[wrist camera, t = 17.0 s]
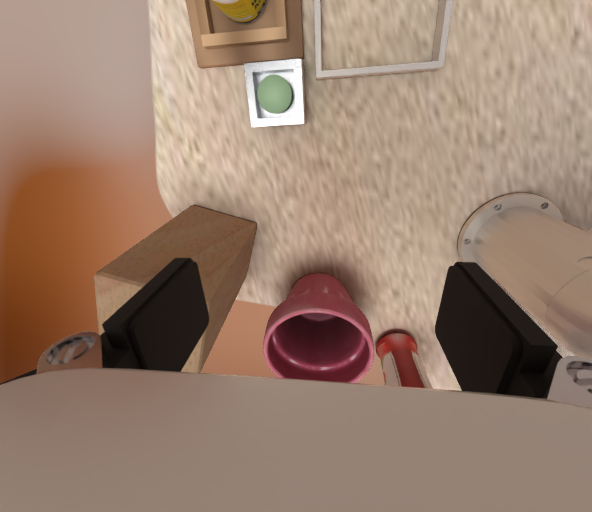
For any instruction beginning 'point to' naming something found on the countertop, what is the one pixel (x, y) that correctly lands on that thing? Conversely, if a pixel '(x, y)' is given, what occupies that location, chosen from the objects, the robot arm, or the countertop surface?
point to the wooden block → (184, 244)
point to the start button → (275, 94)
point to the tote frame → (435, 64)
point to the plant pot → (318, 334)
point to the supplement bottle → (242, 9)
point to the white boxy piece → (291, 73)
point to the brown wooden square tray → (246, 34)
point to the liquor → (401, 362)
